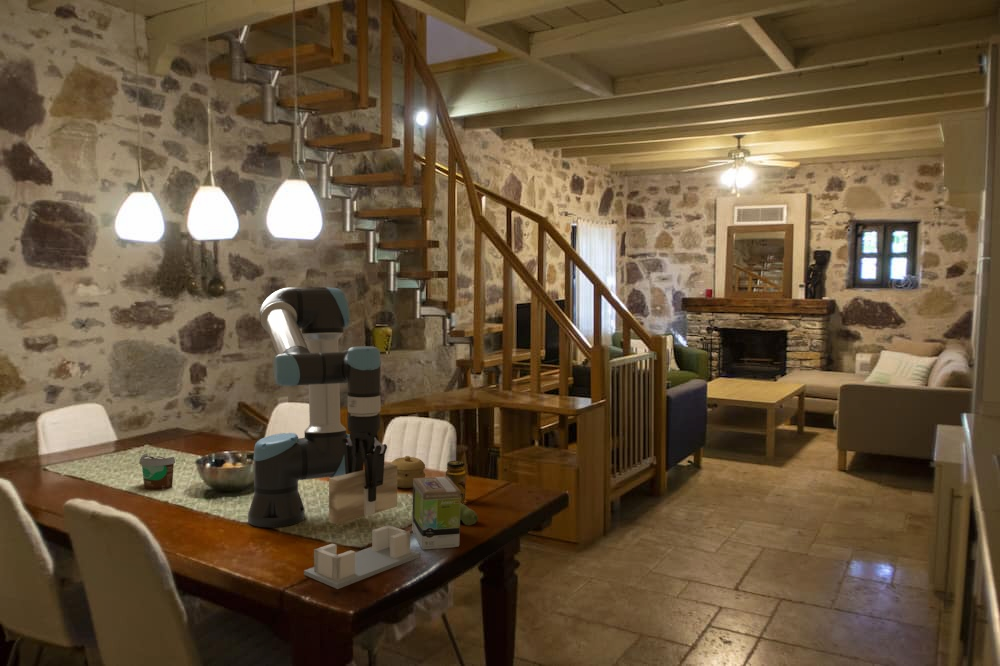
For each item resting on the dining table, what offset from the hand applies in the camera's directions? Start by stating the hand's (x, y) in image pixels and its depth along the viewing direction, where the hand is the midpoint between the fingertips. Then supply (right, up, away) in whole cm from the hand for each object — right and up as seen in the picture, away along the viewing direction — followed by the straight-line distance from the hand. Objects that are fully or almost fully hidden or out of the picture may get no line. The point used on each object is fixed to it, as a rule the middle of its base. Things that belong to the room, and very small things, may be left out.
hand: (364, 512), depth 174 cm
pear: (+21, -11, +34) cm, 41 cm away
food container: (-78, -7, +62) cm, 100 cm away
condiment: (+17, -9, +52) cm, 56 cm away
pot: (+2, -8, +68) cm, 68 cm away
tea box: (+15, -12, +20) cm, 27 cm away
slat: (0, 0, 0) cm, 0 cm away
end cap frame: (0, -13, +1) cm, 13 cm away
